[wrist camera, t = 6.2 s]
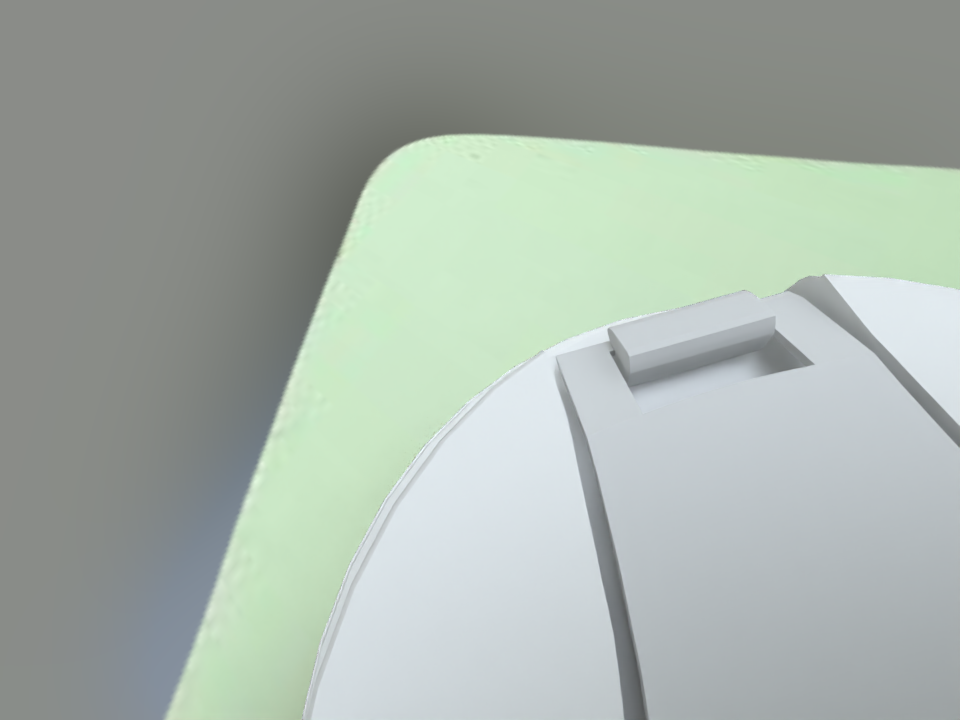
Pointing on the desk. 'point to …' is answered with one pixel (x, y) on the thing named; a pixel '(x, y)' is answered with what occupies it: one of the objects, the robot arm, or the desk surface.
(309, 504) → the desk surface
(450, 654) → the paper cup
